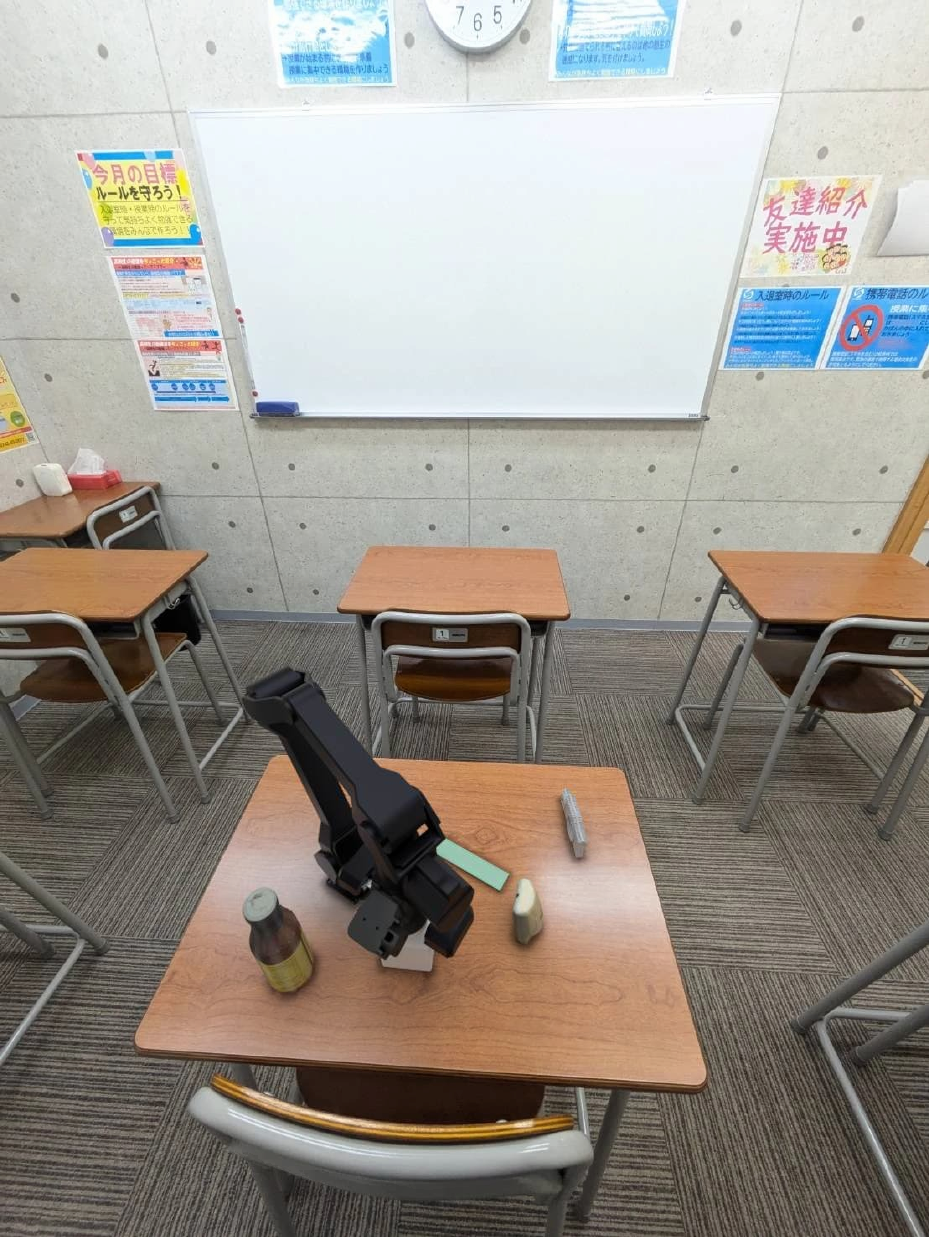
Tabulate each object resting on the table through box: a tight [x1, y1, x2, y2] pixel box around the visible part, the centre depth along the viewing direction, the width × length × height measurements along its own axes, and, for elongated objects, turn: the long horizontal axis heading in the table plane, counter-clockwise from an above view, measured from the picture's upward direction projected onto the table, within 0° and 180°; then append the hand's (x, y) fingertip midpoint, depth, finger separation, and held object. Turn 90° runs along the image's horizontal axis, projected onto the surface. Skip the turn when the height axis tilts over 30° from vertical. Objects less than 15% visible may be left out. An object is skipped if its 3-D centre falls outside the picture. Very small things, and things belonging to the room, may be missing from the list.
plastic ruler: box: [437, 838, 510, 892], centre depth 87 cm, size 15×3×1 cm, turn 58°
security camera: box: [380, 910, 435, 972], centre depth 73 cm, size 7×7×12 cm
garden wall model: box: [560, 788, 589, 859], centre depth 90 cm, size 12×2×6 cm, turn 3°
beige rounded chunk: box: [512, 877, 545, 945], centre depth 76 cm, size 6×5×8 cm
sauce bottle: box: [241, 886, 315, 995], centre depth 68 cm, size 6×6×20 cm
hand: (408, 926), depth 74 cm, fingers closed on security camera, 9 cm apart
